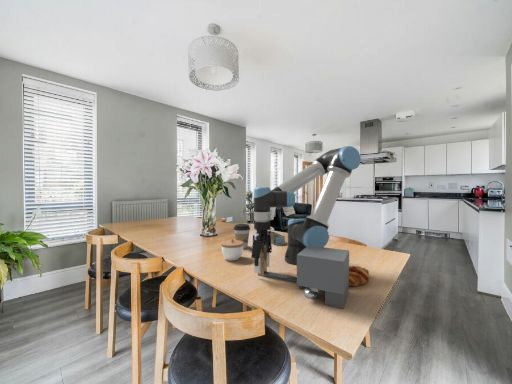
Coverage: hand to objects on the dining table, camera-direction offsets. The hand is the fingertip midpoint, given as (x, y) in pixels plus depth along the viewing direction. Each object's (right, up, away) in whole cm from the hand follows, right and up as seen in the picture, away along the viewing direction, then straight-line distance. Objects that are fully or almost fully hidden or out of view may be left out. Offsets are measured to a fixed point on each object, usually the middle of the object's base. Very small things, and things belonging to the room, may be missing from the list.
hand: (262, 269), depth 108 cm
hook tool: (+7, -3, -7) cm, 10 cm away
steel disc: (+18, -3, -21) cm, 27 cm away
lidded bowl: (-16, -2, +24) cm, 29 cm away
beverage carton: (+10, -1, +63) cm, 64 cm away
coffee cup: (-12, -1, +48) cm, 49 cm away
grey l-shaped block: (+23, -3, -20) cm, 30 cm away
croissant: (+40, -3, -8) cm, 41 cm away
